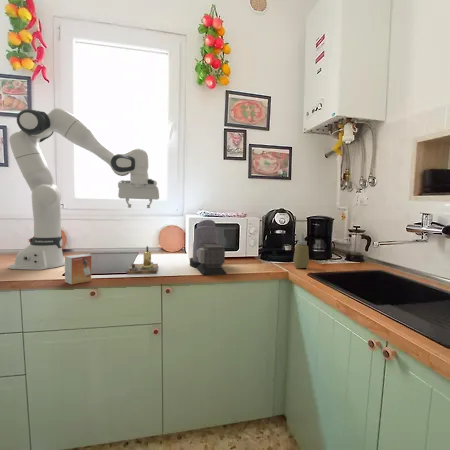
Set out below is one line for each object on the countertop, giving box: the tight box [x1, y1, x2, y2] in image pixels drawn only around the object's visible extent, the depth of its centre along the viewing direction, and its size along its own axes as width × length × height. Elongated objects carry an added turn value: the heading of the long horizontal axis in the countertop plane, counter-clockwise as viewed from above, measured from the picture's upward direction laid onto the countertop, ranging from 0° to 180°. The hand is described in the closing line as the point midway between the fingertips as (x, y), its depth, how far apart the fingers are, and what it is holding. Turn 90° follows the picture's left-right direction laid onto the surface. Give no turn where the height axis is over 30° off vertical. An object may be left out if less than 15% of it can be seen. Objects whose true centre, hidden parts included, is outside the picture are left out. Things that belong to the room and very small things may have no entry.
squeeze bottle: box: [293, 233, 310, 269], centre depth 149 cm, size 8×8×18 cm
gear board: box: [126, 261, 159, 275], centre depth 135 cm, size 13×15×4 cm
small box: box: [64, 253, 92, 285], centre depth 112 cm, size 8×6×10 cm
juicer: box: [189, 219, 228, 277], centre depth 143 cm, size 30×16×24 cm, turn 17°
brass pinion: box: [141, 245, 154, 269], centre depth 133 cm, size 6×6×10 cm
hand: (139, 207), depth 147 cm, fingers open, 8 cm apart
